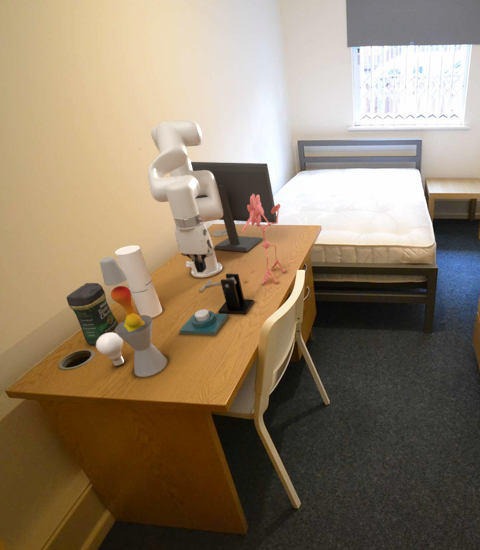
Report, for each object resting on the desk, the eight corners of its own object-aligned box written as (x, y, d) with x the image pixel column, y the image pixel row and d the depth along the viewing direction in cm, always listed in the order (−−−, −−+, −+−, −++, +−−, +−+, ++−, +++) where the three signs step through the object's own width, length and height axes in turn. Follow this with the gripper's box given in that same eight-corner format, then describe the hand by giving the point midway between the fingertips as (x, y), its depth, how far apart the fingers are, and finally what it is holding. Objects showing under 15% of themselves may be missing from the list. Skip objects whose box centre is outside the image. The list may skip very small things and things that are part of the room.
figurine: (293, 263, 162) (282, 185, 145) (271, 293, 140) (255, 206, 123) (260, 261, 164) (245, 184, 147) (234, 291, 142) (213, 205, 125)
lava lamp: (128, 367, 106) (79, 260, 89) (160, 351, 112) (120, 248, 95) (140, 382, 101) (90, 271, 84) (173, 364, 107) (133, 257, 90)
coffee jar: (107, 346, 115) (83, 296, 106) (83, 346, 115) (57, 297, 106) (125, 327, 123) (105, 280, 114) (103, 327, 124) (80, 280, 115)
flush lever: (200, 294, 126) (197, 289, 125) (210, 284, 133) (207, 279, 131) (231, 289, 124) (228, 283, 123) (239, 278, 130) (236, 273, 129)
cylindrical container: (166, 309, 133) (144, 246, 121) (150, 320, 127) (126, 255, 115) (151, 305, 135) (128, 244, 123) (135, 316, 129) (109, 253, 117)
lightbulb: (114, 357, 110) (100, 328, 105) (135, 356, 110) (122, 327, 105) (102, 372, 105) (87, 342, 99) (125, 371, 105) (111, 341, 100)
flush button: (193, 321, 120) (191, 316, 119) (200, 314, 124) (198, 309, 123) (206, 322, 120) (204, 317, 119) (212, 314, 123) (211, 309, 122)
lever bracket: (218, 313, 129) (210, 282, 123) (228, 301, 136) (221, 271, 130) (245, 314, 128) (238, 283, 122) (254, 302, 135) (247, 272, 129)
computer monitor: (286, 241, 184) (274, 160, 165) (272, 254, 170) (257, 168, 151) (210, 235, 193) (190, 158, 174) (191, 248, 180) (167, 165, 160)
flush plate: (180, 334, 119) (177, 325, 118) (196, 316, 128) (193, 308, 126) (215, 335, 118) (212, 326, 117) (228, 317, 127) (226, 309, 125)
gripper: (215, 217, 119) (227, 266, 129) (172, 216, 121) (187, 264, 130) (204, 225, 113) (217, 276, 122) (159, 225, 114) (175, 275, 124)
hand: (201, 270), depth 126 cm, fingers closed
